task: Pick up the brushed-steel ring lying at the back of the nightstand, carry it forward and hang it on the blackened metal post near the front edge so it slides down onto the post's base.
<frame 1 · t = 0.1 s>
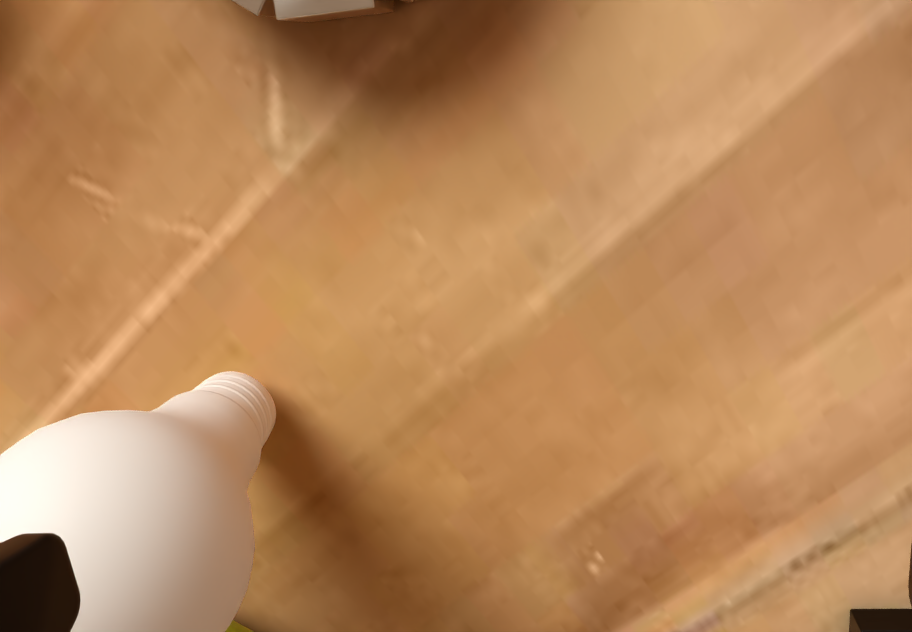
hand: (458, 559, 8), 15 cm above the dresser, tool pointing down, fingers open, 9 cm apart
lightbulb: (248, 395, 25), on the dresser
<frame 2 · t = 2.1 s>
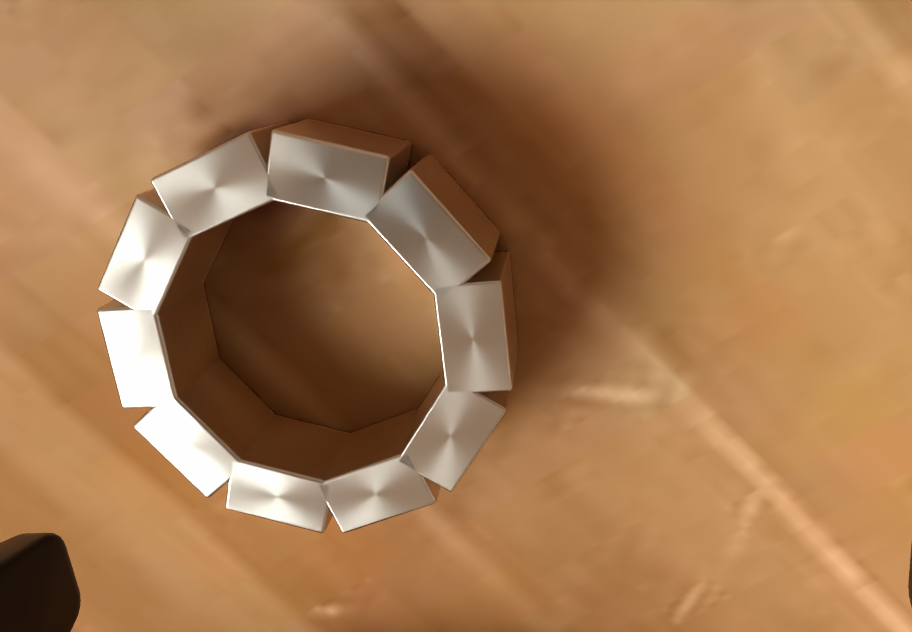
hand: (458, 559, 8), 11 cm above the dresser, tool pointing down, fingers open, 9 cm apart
ring: (330, 313, 19), on the dresser
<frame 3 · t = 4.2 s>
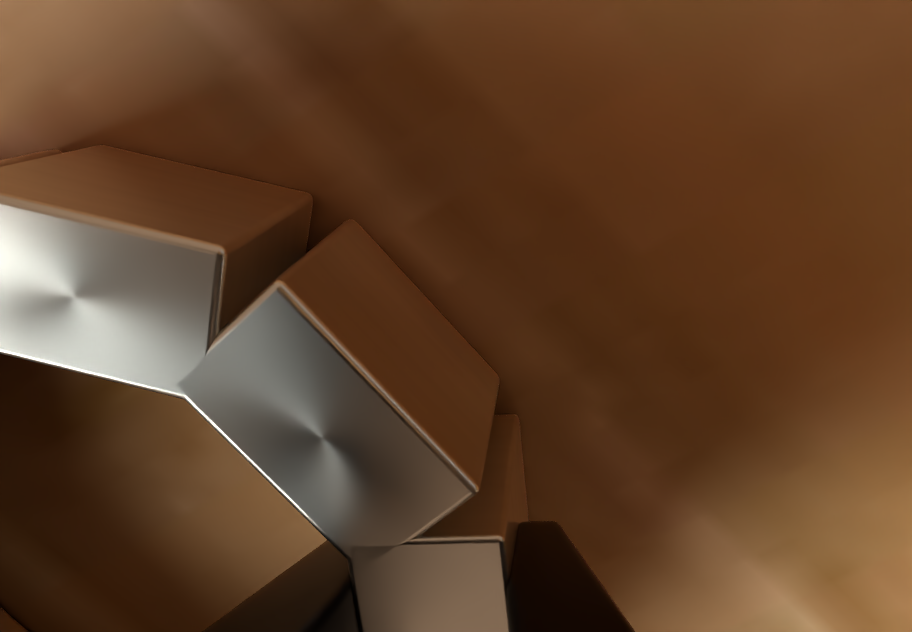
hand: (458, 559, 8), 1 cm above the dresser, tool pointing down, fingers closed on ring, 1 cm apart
ring: (172, 515, 10), on the dresser, touching gripper
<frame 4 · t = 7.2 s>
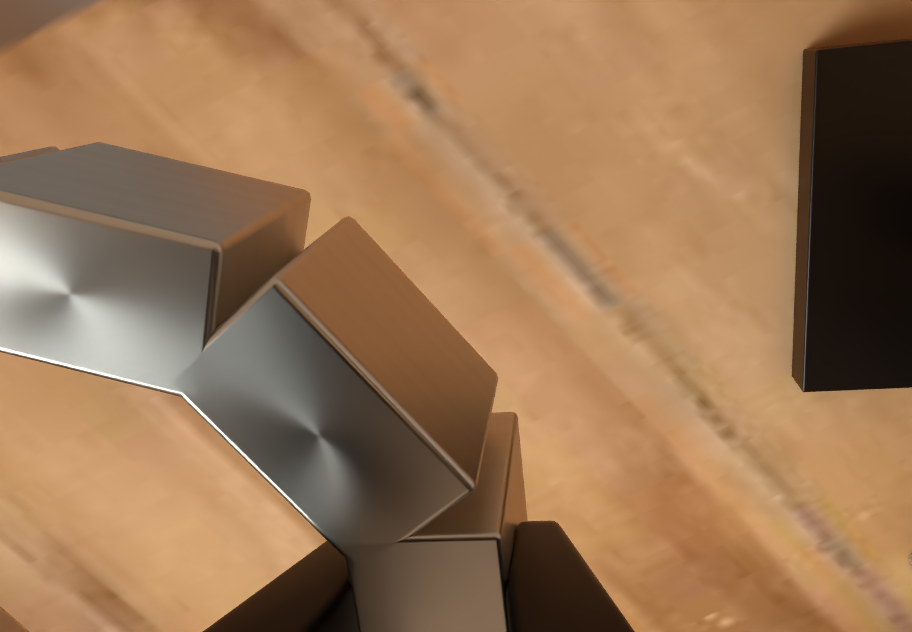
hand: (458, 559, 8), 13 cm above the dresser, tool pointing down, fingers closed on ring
ring: (171, 513, 10), point 12 cm above the dresser, touching gripper
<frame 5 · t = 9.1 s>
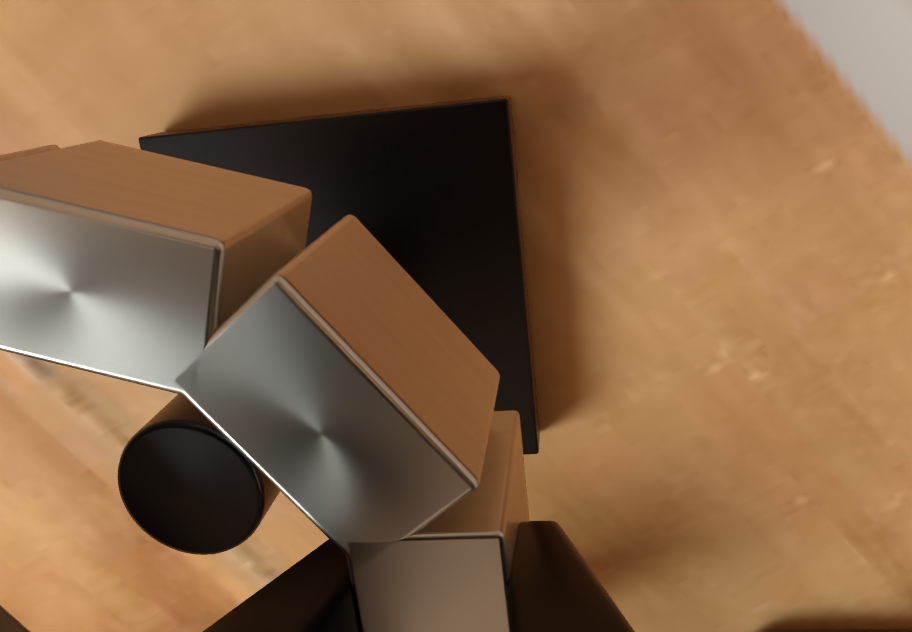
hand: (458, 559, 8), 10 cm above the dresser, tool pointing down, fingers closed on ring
ring: (172, 512, 10), point 9 cm above the dresser, touching gripper
post: (355, 288, 19), on the dresser
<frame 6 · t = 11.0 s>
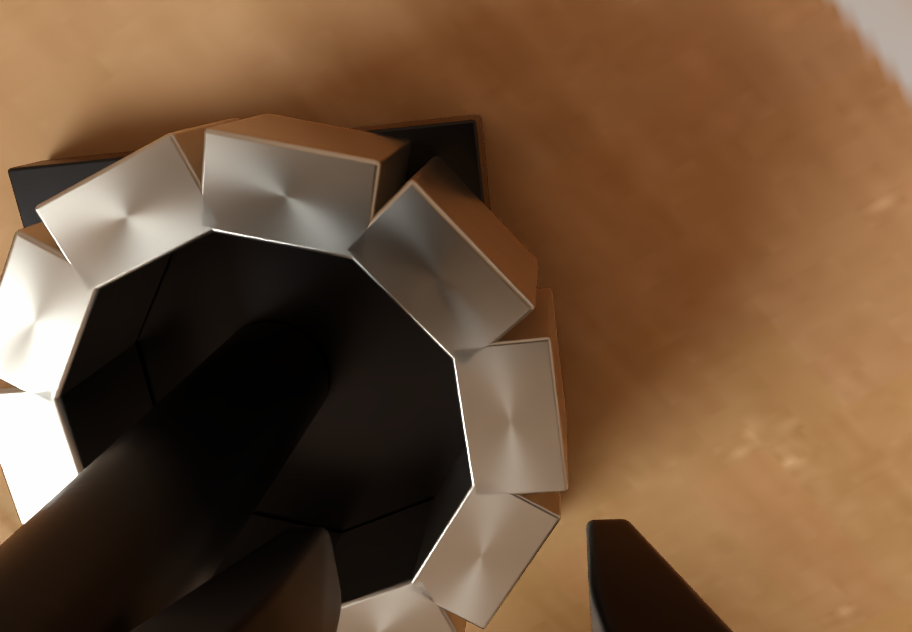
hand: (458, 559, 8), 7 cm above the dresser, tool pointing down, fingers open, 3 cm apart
ring: (308, 377, 14), point 1 cm above the dresser, touching post
post: (292, 353, 15), on the dresser
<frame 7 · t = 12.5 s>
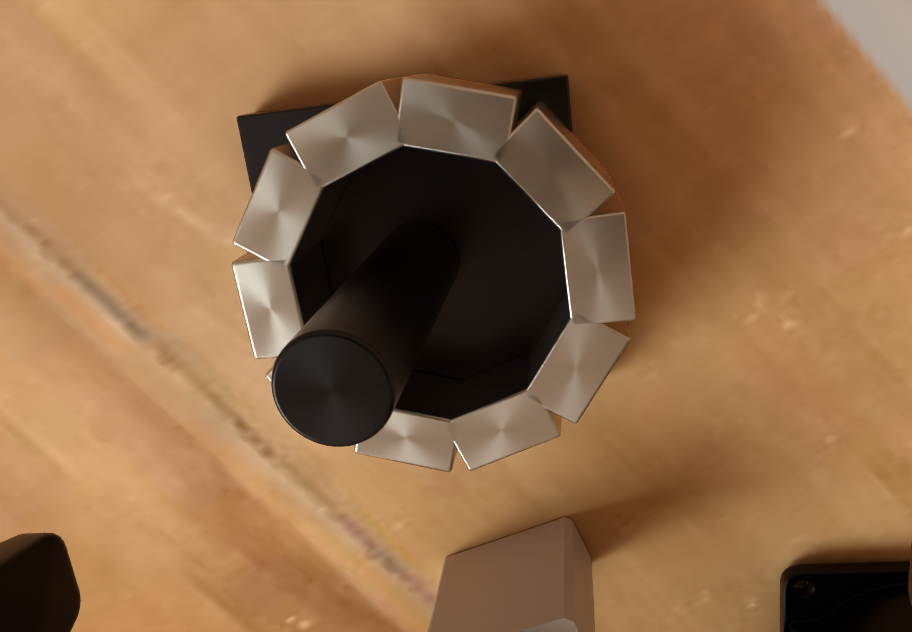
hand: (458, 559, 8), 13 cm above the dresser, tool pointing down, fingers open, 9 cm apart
lighter: (472, 572, 24), on the dresser
ring: (443, 263, 20), point 1 cm above the dresser, touching post
post: (426, 251, 21), on the dresser
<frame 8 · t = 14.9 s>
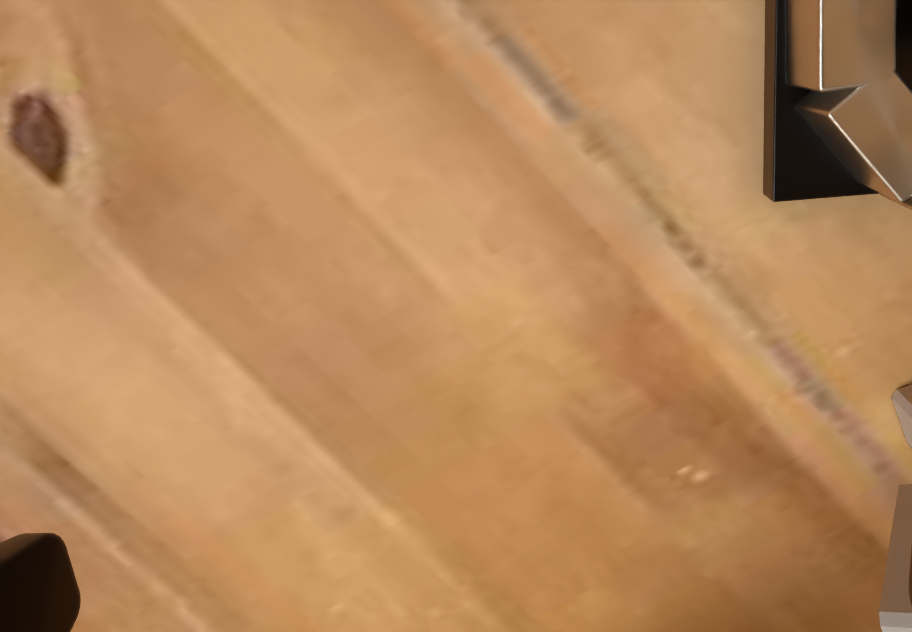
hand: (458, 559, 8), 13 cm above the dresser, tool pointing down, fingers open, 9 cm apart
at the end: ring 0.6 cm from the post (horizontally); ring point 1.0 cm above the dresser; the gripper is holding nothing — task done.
